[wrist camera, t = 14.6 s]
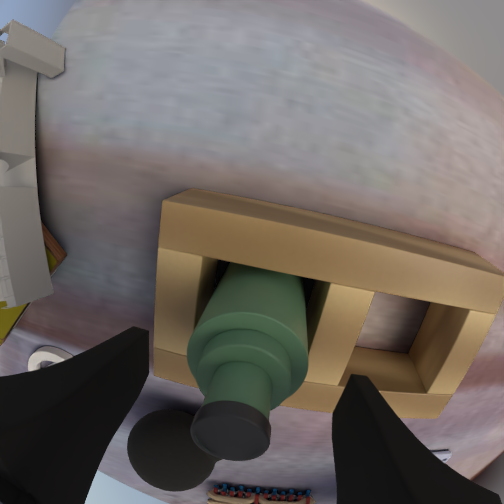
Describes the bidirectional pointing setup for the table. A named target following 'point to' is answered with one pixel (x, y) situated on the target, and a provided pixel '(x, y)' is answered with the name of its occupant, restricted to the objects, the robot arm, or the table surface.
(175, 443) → the light bulb
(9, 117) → the skate ramp
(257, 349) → the bottle
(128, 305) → the table surface
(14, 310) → the harmonica
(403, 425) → the robot arm
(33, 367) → the pendant
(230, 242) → the hole block
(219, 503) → the woven mat
